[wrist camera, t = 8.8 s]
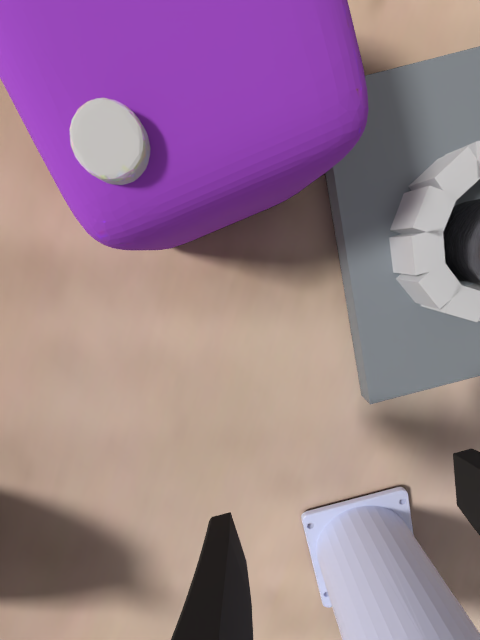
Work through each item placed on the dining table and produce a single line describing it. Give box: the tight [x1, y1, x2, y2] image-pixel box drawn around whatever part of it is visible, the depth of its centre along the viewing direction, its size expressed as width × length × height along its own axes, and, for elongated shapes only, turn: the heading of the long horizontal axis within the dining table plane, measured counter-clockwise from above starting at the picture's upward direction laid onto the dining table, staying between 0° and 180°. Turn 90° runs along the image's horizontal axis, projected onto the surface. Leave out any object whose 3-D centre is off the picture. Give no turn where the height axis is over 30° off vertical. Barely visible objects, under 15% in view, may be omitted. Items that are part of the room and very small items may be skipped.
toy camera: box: [0, 0, 369, 250], centre depth 11 cm, size 11×14×10 cm
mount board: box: [325, 46, 480, 404], centre depth 16 cm, size 18×14×4 cm
